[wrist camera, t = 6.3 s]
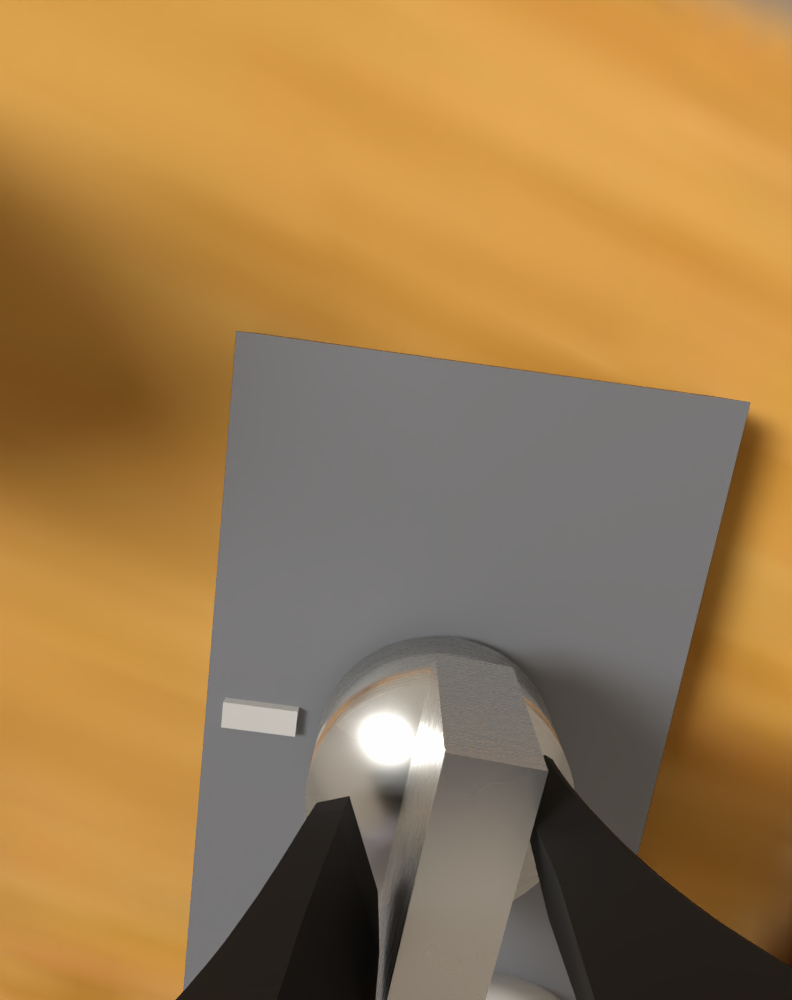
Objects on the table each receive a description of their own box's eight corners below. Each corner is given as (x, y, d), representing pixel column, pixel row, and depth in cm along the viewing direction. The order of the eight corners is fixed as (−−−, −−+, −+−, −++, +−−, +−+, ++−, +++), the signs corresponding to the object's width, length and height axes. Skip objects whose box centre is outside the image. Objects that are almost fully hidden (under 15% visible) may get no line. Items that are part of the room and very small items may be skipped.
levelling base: (545, 1110, 19) (573, 1260, 16) (190, 1068, 19) (147, 1211, 16) (715, 396, 15) (800, 410, 11) (253, 332, 14) (211, 328, 11)
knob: (344, 593, 14) (303, 754, 8) (583, 637, 14) (698, 826, 8) (297, 843, 15) (236, 1124, 10) (517, 881, 15) (579, 1180, 10)
